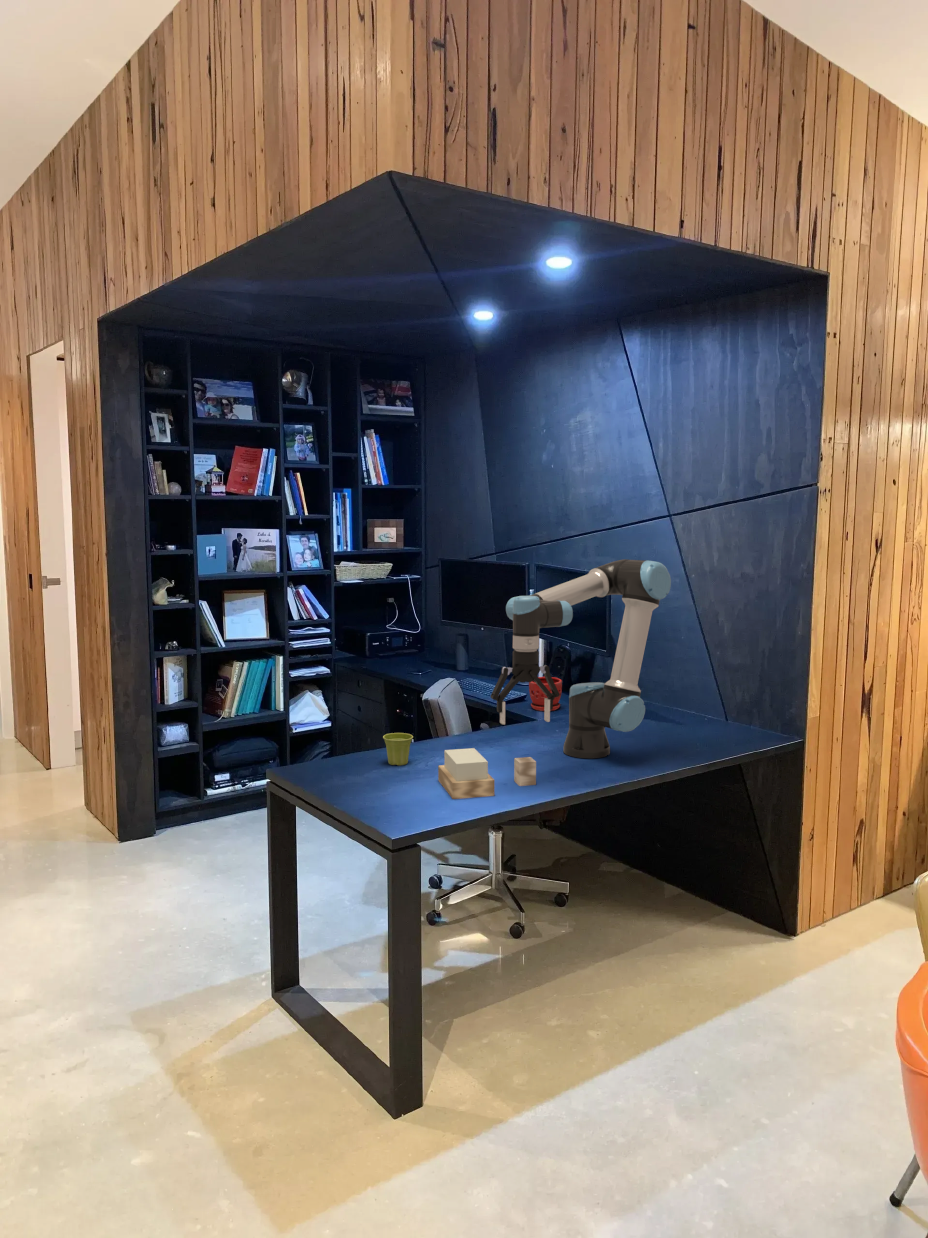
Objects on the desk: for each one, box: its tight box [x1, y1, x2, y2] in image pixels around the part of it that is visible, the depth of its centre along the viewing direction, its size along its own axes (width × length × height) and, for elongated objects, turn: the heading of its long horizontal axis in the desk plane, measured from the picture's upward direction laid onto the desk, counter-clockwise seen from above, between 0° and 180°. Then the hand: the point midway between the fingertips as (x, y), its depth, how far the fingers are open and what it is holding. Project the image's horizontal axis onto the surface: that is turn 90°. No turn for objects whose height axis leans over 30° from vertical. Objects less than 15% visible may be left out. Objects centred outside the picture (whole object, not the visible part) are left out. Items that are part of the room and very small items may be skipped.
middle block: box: [443, 747, 489, 781], centre depth 262 cm, size 9×15×5 cm, turn 14°
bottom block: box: [437, 764, 496, 800], centre depth 262 cm, size 12×18×5 cm, turn 14°
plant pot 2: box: [528, 676, 563, 712], centre depth 364 cm, size 13×13×12 cm
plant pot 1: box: [382, 732, 414, 767], centre depth 287 cm, size 9×9×9 cm
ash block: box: [513, 756, 537, 787], centre depth 267 cm, size 5×5×7 cm
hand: (524, 722), depth 265 cm, fingers open, 13 cm apart
